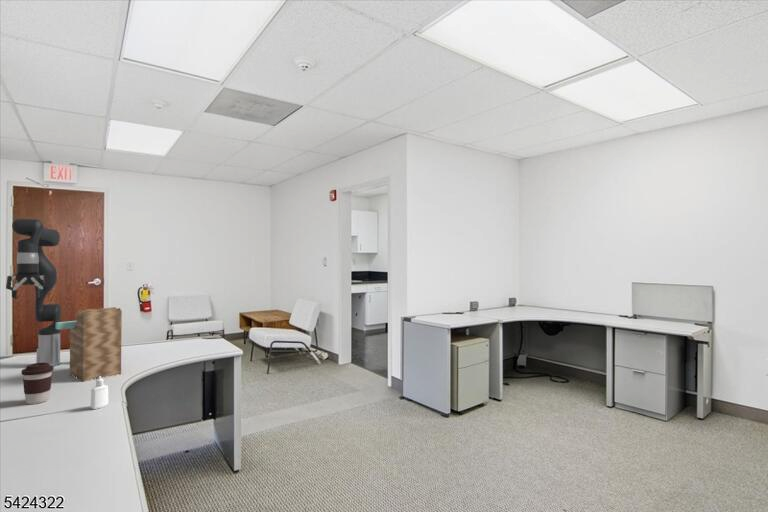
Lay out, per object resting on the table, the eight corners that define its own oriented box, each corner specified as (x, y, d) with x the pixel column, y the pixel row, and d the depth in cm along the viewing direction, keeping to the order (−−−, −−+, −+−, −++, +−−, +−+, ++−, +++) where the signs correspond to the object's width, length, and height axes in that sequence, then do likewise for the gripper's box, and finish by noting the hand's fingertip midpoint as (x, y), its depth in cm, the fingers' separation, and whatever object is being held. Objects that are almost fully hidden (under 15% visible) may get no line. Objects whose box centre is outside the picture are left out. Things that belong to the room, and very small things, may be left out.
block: (58, 329, 195) (58, 323, 195) (55, 328, 198) (55, 322, 198) (119, 323, 216) (119, 317, 216) (116, 322, 218) (116, 316, 218)
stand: (83, 381, 192) (83, 311, 193) (69, 374, 205) (70, 308, 205) (121, 374, 205) (121, 308, 205) (106, 367, 217) (106, 305, 218)
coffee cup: (24, 407, 158) (25, 368, 158) (18, 402, 164) (18, 365, 164) (56, 400, 166) (56, 363, 166) (49, 395, 172) (49, 360, 172)
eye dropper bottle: (108, 407, 158) (109, 376, 159) (90, 410, 155) (91, 378, 155) (108, 404, 162) (108, 373, 162) (90, 407, 158) (90, 376, 159)
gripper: (45, 262, 194) (45, 296, 193) (5, 262, 182) (4, 298, 182) (49, 262, 189) (49, 297, 189) (8, 262, 178) (8, 299, 178)
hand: (27, 298), depth 185 cm, fingers open, 8 cm apart
